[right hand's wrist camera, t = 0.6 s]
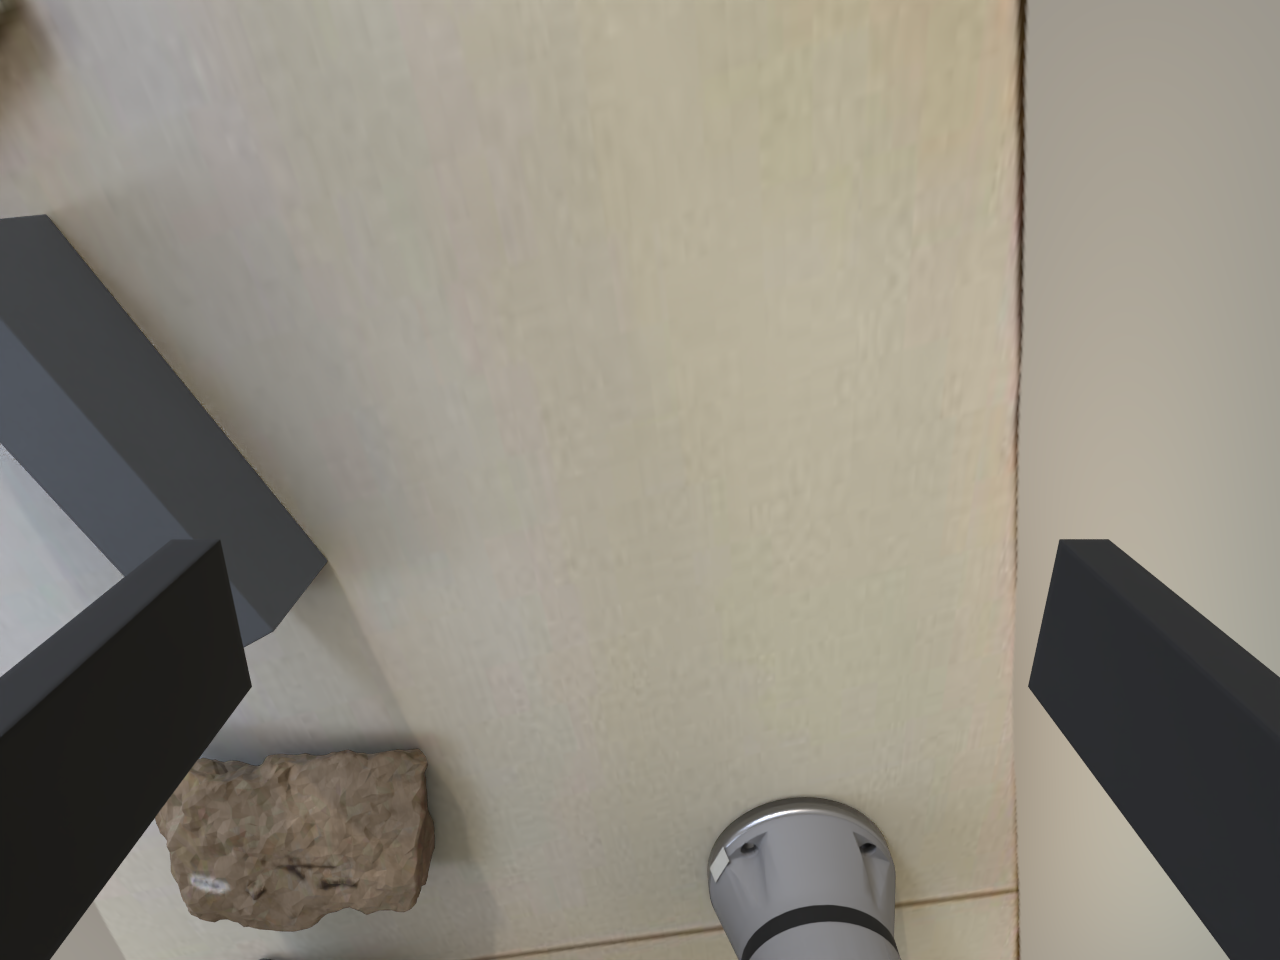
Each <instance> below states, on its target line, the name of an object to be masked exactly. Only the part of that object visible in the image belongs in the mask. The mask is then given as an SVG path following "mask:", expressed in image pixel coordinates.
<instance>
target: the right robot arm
mask: <svg viewBox="0 0 1280 960" xmlns="http://www.w3.org/2000/svg"><path fill="white" fill-rule="evenodd" d="M251 687H252V685H251V680H250V676H249V671H248V666H247V662H246V657H245V652H244V648H243V643H242V638H241V634H240V629H239V624H238V619H237V615H236V610H235V605H234V601H233V596H232V591H231V587H230V582H229V577H228V573H227V568H226V563H225V559H224V554H223V549H222V545H221V540H220V539H171V540H170V541H169V542H168V543H166V544H165V545H164V546H163V547H161V548H160V549H159V550H158V551H156V552H155V553H154V554H153V555H152V556H150V557H149V558H148V559H147V560H145V561H144V562H143V563H142V564H140V565H139V566H138V567H137V568H135V569H134V570H133V571H132V572H130V573H129V574H128V575H127V576H125V577H124V578H123V579H122V580H121V581H119V582H118V583H117V584H116V585H114V586H113V587H112V588H111V589H109V590H108V591H107V592H106V593H104V594H103V595H102V596H101V597H99V598H98V599H97V600H96V601H94V602H93V603H92V604H91V605H90V606H88V607H87V608H86V609H85V610H83V611H82V612H81V613H80V614H78V615H77V616H76V617H75V618H73V619H72V620H71V621H70V622H68V623H67V624H66V625H65V626H63V627H62V628H61V629H60V630H59V631H57V632H56V633H55V634H54V635H52V636H51V637H50V638H49V639H47V640H46V641H45V642H44V643H42V644H41V645H40V646H39V647H37V648H36V649H35V650H34V651H32V652H31V653H30V654H29V655H28V656H26V657H25V658H24V659H23V660H21V661H20V662H19V663H18V664H16V665H15V666H14V667H13V668H11V669H10V670H9V671H8V672H6V673H5V674H4V675H3V676H1V677H0V960H50V959H51V957H52V956H53V955H54V953H55V952H56V951H57V949H58V948H59V947H60V945H61V944H62V943H63V941H64V940H65V939H66V937H67V936H68V934H69V933H70V932H71V930H72V929H73V928H74V926H75V925H76V924H77V922H78V921H79V920H80V918H81V917H82V916H83V914H84V913H85V912H86V910H87V909H88V907H89V906H90V905H91V903H92V902H93V901H94V899H95V898H96V897H97V895H98V894H99V893H100V891H101V890H102V889H103V887H104V886H105V884H106V883H107V882H108V880H109V879H110V878H111V876H112V875H113V874H114V872H115V871H116V870H117V868H118V867H119V866H120V864H121V863H122V861H123V860H124V859H125V857H126V856H127V855H128V853H129V852H130V851H131V849H132V848H133V847H134V845H135V844H136V843H137V841H138V840H139V838H140V837H141V836H142V834H143V833H144V832H145V830H146V829H147V828H148V826H149V825H150V824H151V822H152V821H153V820H154V818H155V817H156V816H157V814H158V813H159V811H160V810H161V809H162V807H163V806H164V805H165V803H166V802H167V801H168V799H169V798H170V797H171V795H172V794H173V793H174V791H175V790H176V788H177V787H178V786H179V784H180V783H181V782H182V780H183V779H184V778H185V776H186V775H187V774H188V772H189V771H190V770H191V768H192V767H193V765H194V764H195V763H196V761H197V760H198V759H199V757H200V756H201V755H202V753H203V752H204V751H205V749H206V748H207V747H208V745H209V744H210V742H211V741H212V740H213V738H214V737H215V736H216V734H217V733H218V732H219V730H220V729H221V728H222V726H223V725H224V724H225V722H226V721H227V719H228V718H229V717H230V715H231V714H232V713H233V711H234V710H235V709H236V707H237V706H238V705H239V703H240V702H241V701H242V699H243V698H244V696H245V695H246V694H247V692H248V691H249V690H250V688H251ZM1028 687H1029V688H1030V690H1031V691H1032V692H1033V694H1034V695H1035V696H1036V698H1037V699H1038V701H1039V702H1040V703H1041V705H1042V706H1043V707H1044V709H1045V710H1046V711H1047V713H1048V714H1049V715H1050V717H1051V718H1052V719H1053V721H1054V722H1055V724H1056V725H1057V726H1058V728H1059V729H1060V730H1061V732H1062V733H1063V734H1064V736H1065V737H1066V738H1067V740H1068V741H1069V742H1070V744H1071V745H1072V746H1073V748H1074V749H1075V751H1076V752H1077V753H1078V755H1079V756H1080V757H1081V759H1082V760H1083V761H1084V763H1085V764H1086V765H1087V767H1088V768H1089V770H1090V771H1091V772H1092V774H1093V775H1094V776H1095V778H1096V779H1097V780H1098V782H1099V783H1100V784H1101V786H1102V787H1103V788H1104V790H1105V791H1106V793H1107V794H1108V795H1109V797H1110V798H1111V799H1112V801H1113V802H1114V803H1115V805H1116V806H1117V807H1118V809H1119V810H1120V811H1121V813H1122V814H1123V815H1124V817H1125V818H1126V820H1127V821H1128V822H1129V824H1130V825H1131V826H1132V828H1133V829H1134V830H1135V832H1136V833H1137V834H1138V836H1139V837H1140V838H1141V840H1142V841H1143V843H1144V844H1145V845H1146V847H1147V848H1148V849H1149V851H1150V852H1151V853H1152V855H1153V856H1154V857H1155V859H1156V860H1157V861H1158V863H1159V864H1160V866H1161V867H1162V868H1163V870H1164V871H1165V872H1166V874H1167V875H1168V876H1169V878H1170V879H1171V880H1172V882H1173V883H1174V884H1175V886H1176V887H1177V889H1178V890H1179V891H1180V893H1181V894H1182V895H1183V897H1184V898H1185V899H1186V901H1187V902H1188V903H1189V905H1190V906H1191V907H1192V909H1193V910H1194V912H1195V913H1196V914H1197V916H1198V917H1199V918H1200V920H1201V921H1202V922H1203V924H1204V925H1205V926H1206V928H1207V929H1208V930H1209V932H1210V933H1211V935H1212V936H1213V937H1214V939H1215V940H1216V941H1217V942H1218V944H1219V945H1220V947H1221V948H1222V949H1223V951H1224V952H1225V953H1226V955H1227V956H1228V958H1229V959H1230V960H1280V677H1279V676H1277V675H1276V674H1275V673H1274V672H1272V671H1271V670H1270V669H1269V668H1267V667H1266V666H1265V665H1264V664H1262V663H1261V662H1260V661H1259V660H1257V659H1256V658H1255V657H1254V656H1252V655H1251V654H1250V653H1249V652H1248V651H1246V650H1245V649H1244V648H1243V647H1241V646H1240V645H1239V644H1238V643H1236V642H1235V641H1234V640H1233V639H1231V638H1230V637H1229V636H1228V635H1226V634H1225V633H1224V632H1223V631H1221V630H1220V629H1219V628H1218V627H1217V626H1215V625H1214V624H1213V623H1212V622H1210V621H1209V620H1208V619H1207V618H1205V617H1204V616H1203V615H1202V614H1200V613H1199V612H1198V611H1197V610H1195V609H1194V608H1193V607H1192V606H1190V605H1189V604H1188V603H1187V602H1185V601H1184V600H1183V599H1182V598H1181V597H1179V596H1178V595H1177V594H1175V593H1174V592H1173V591H1172V590H1170V589H1169V588H1168V587H1167V586H1166V585H1164V584H1163V583H1162V582H1161V581H1159V580H1158V579H1157V578H1156V577H1154V576H1153V575H1152V574H1151V573H1150V572H1148V571H1147V570H1146V569H1145V568H1143V567H1142V566H1141V565H1140V564H1138V563H1137V562H1136V561H1135V560H1133V559H1132V558H1131V557H1130V556H1128V555H1127V554H1126V553H1125V552H1124V551H1122V550H1121V549H1120V548H1118V547H1117V546H1116V545H1115V544H1113V543H1112V542H1111V541H1110V540H1108V539H1060V540H1059V545H1058V550H1057V554H1056V559H1055V563H1054V568H1053V573H1052V577H1051V582H1050V587H1049V592H1048V596H1047V601H1046V606H1045V610H1044V615H1043V620H1042V624H1041V629H1040V634H1039V638H1038V643H1037V648H1036V652H1035V657H1034V662H1033V666H1032V671H1031V676H1030V680H1029V685H1028ZM895 879H896V878H895V867H894V863H893V860H892V857H891V854H890V852H889V849H888V846H887V843H886V841H885V839H884V837H883V835H882V833H881V832H880V830H879V829H878V828H877V826H876V825H875V824H874V823H873V822H872V821H871V820H870V819H869V818H867V817H866V816H865V815H864V814H862V813H861V812H859V811H857V810H856V809H854V808H852V807H849V806H847V805H844V804H842V803H839V802H835V801H832V800H827V799H820V798H806V797H805V798H790V799H783V800H778V801H774V802H771V803H767V804H765V805H762V806H759V807H757V808H755V809H753V810H751V811H749V812H747V813H745V814H743V815H742V816H740V817H739V818H737V819H736V820H735V821H734V822H732V823H731V824H730V825H729V826H728V827H727V828H726V829H725V830H724V831H723V832H722V834H721V835H720V836H719V838H718V839H717V841H716V842H715V844H714V846H713V848H712V851H711V853H710V856H709V861H708V883H709V893H710V899H711V902H712V905H713V908H714V910H715V912H716V914H717V916H718V918H719V920H720V922H721V924H722V926H723V928H724V931H725V933H726V935H727V937H728V939H729V941H730V943H731V945H732V947H733V949H734V951H735V953H736V955H737V957H738V959H739V960H901V958H900V956H899V952H898V949H897V946H896V943H895V940H894V915H895Z"/></svg>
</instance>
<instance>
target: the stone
mask: <svg viewBox="0 0 1280 960" xmlns="http://www.w3.org/2000/svg"><path fill="white" fill-rule="evenodd" d="M427 766H428V763H427V759H426V757H425V755H424V754H423V753H422V751H420V750H419V749H412V750H399V749H397V750H392V751H385V752H379V753H374V754H366V753H356V752H353V751H350V750H345V751H340V752H331V753H329V754H327V755H319V756H314V755H310V754H307V753H304V754H300V755H285V754H277V755H269V756H267V757H266V758H265V760H264V762H263V763H262V764H261V765H260V766H254V765H249V764H246V763H243V762H240V761H227V762H220V761H217V760H210V759H206V758H201V759H198V760H197V761H196V763H195V764H194V765H193V767H192V768H191V770H190V771H189V772H188V774H187V775H186V776H185V778H184V779H183V780H182V782H181V783H180V784H179V786H178V787H177V788H176V790H175V791H174V793H173V794H172V795H171V797H170V798H169V799H168V801H167V802H166V803H165V805H164V806H163V807H162V809H161V810H160V811H159V813H158V814H157V816H156V817H155V819H156V824H157V826H158V828H159V830H160V833H161V834H162V835H163V836H164V837H165V838H166V840H167V847H168V850H169V852H170V860H171V873H172V875H173V877H174V879H175V880H176V882H177V883H178V885H179V889H180V893H181V896H182V898H183V901H184V902H185V903H186V906H187V907H188V911H189V912H190V914H191V915H193V916H196V917H198V918H199V919H202V920H205V921H210V922H216V921H218V920H222V919H228V920H231V921H234V922H238V923H240V924H241V925H242V926H243V927H252V928H257V929H263V930H274V931H291V932H293V931H298V930H303V929H307V928H310V927H312V926H313V925H315V924H316V923H318V922H319V920H320V919H321V918H322V917H323V916H325V915H326V914H328V913H332V912H337V911H339V910H341V909H343V908H348V907H350V908H353V909H355V910H358V911H361V912H363V913H364V914H366V915H367V914H370V913H373V912H376V911H380V910H393V911H396V912H406V911H408V910H409V909H411V908H412V907H413V906H414V905H415V904H416V902H417V898H418V897H419V894H420V891H421V886H423V885H425V884H426V881H427V877H428V871H429V866H430V861H431V857H432V853H433V851H434V848H435V835H434V826H433V820H432V818H431V816H430V814H429V811H428V809H427V790H426V777H425V775H424V774H425V770H426V768H427Z"/></svg>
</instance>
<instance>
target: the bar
mask: <svg viewBox="0 0 1280 960" xmlns="http://www.w3.org/2000/svg"><path fill="white" fill-rule="evenodd" d="M0 443H1V444H2V445H3V446H4V447H5V448H6V449H7V450H8V451H9V452H10V453H11V455H12V456H13V457H14V458H15V459H16V460H17V461H18V462H19V463H20V464H21V465H22V466H23V467H24V469H25V470H26V471H27V472H28V473H29V474H30V475H31V476H32V477H33V478H34V479H35V480H36V481H37V483H38V484H39V485H40V486H41V487H42V488H43V489H44V490H45V491H46V492H47V493H48V494H49V496H50V497H51V498H52V499H53V500H54V501H55V502H56V503H57V504H58V505H59V506H60V507H61V508H62V510H63V511H64V512H65V513H66V514H67V515H68V516H69V517H70V518H71V519H72V520H73V521H74V522H75V524H76V525H77V526H78V527H79V528H80V529H81V530H82V531H83V532H84V533H85V534H86V535H87V537H88V538H89V539H90V540H91V541H92V542H93V543H94V544H95V545H96V546H97V547H98V548H99V549H100V551H101V552H102V553H103V554H104V555H105V556H106V557H107V558H108V559H109V560H110V561H111V562H112V563H113V565H114V566H115V567H116V568H117V569H118V570H119V571H120V572H121V573H122V574H123V575H124V576H127V575H128V574H129V573H130V572H132V571H133V570H134V569H135V568H137V567H138V566H139V565H140V564H142V563H143V562H144V561H145V560H147V559H148V558H149V557H150V556H152V555H153V554H154V553H155V552H156V551H158V550H159V549H160V548H161V547H163V546H164V545H165V544H166V543H168V542H169V541H170V540H171V539H220V540H221V545H222V549H223V554H224V559H225V563H226V568H227V573H228V577H229V582H230V587H231V591H232V596H233V601H234V605H235V610H236V615H237V619H238V624H239V629H240V634H241V638H242V643H243V648H244V647H246V646H248V645H249V644H251V643H253V642H255V641H257V640H258V639H260V638H262V637H264V636H266V635H268V634H269V633H271V632H273V631H274V630H275V629H276V627H277V626H278V625H279V624H280V622H281V621H282V620H283V618H284V617H285V616H286V614H287V613H288V612H289V611H290V609H291V608H292V607H293V605H294V604H295V603H296V602H297V600H298V599H299V598H300V596H301V595H302V594H303V592H304V591H305V590H306V589H307V587H308V586H309V585H310V583H311V582H312V581H313V579H314V578H315V577H316V576H317V574H318V573H319V572H320V570H321V569H322V568H323V566H324V565H325V564H326V563H327V559H326V558H325V557H324V556H323V554H322V553H321V552H320V551H319V550H318V548H317V547H316V546H315V545H314V543H313V542H312V541H311V540H310V538H309V537H308V536H307V535H306V534H305V532H304V531H303V530H302V529H301V527H300V526H299V525H298V524H297V522H296V521H295V520H294V519H293V518H292V516H291V515H290V514H289V513H288V511H287V510H286V509H285V508H284V506H283V505H282V504H281V503H280V502H279V500H278V499H277V498H276V497H275V495H274V494H273V493H272V492H271V490H270V489H269V488H268V487H267V486H266V484H265V483H264V482H263V481H262V479H261V478H260V477H259V476H258V474H257V473H256V472H255V471H254V470H253V468H252V467H251V466H250V465H249V463H248V462H247V461H246V460H245V458H244V457H243V456H242V455H241V454H240V452H239V451H238V450H237V449H236V447H235V446H234V445H233V444H232V442H231V441H230V440H229V439H228V438H227V436H226V435H225V434H224V433H223V431H222V430H221V429H220V428H219V426H218V425H217V424H216V423H215V422H214V420H213V419H212V418H211V417H210V415H209V414H208V413H207V412H206V410H205V409H204V408H203V407H202V406H201V404H200V403H199V402H198V401H197V399H196V398H195V397H194V396H193V394H192V393H191V392H190V391H189V390H188V388H187V387H186V386H185V385H184V383H183V382H182V381H181V380H180V378H179V377H178V376H177V375H176V374H175V372H174V371H173V370H172V369H171V367H170V366H169V365H168V364H167V362H166V361H165V360H164V359H163V358H162V356H161V355H160V354H159V353H158V351H157V350H156V349H155V348H154V346H153V345H152V344H151V343H150V342H149V340H148V339H147V338H146V337H145V335H144V334H143V333H142V332H141V330H140V329H139V328H138V327H137V326H136V324H135V323H134V322H133V321H132V319H131V318H130V317H129V316H128V314H127V313H126V312H125V311H124V310H123V308H122V307H121V306H120V305H119V303H118V302H117V301H116V300H115V298H114V297H113V296H112V295H111V294H110V292H109V291H108V290H107V289H106V287H105V286H104V285H103V284H102V282H101V281H100V280H99V279H98V278H97V276H96V275H95V274H94V273H93V271H92V270H91V269H90V268H89V267H88V265H87V264H86V263H85V262H84V260H83V259H82V258H81V257H80V255H79V254H78V253H77V252H76V251H75V249H74V248H73V247H72V246H71V244H70V243H69V242H68V241H67V239H66V238H65V237H64V236H63V235H62V233H61V232H60V231H59V230H58V228H57V227H56V226H55V225H54V223H53V222H52V221H51V220H50V219H49V217H48V216H47V215H46V214H45V215H35V216H24V217H14V218H4V219H0Z"/></svg>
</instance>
